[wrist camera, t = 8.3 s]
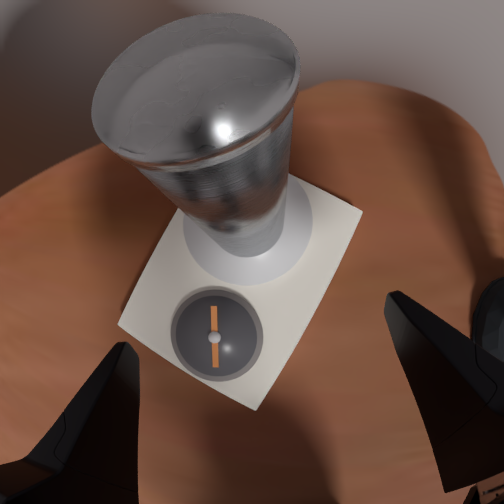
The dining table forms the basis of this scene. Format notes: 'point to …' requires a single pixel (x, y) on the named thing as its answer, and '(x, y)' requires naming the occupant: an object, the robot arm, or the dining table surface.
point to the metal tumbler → (208, 122)
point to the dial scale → (239, 295)
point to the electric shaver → (490, 320)
